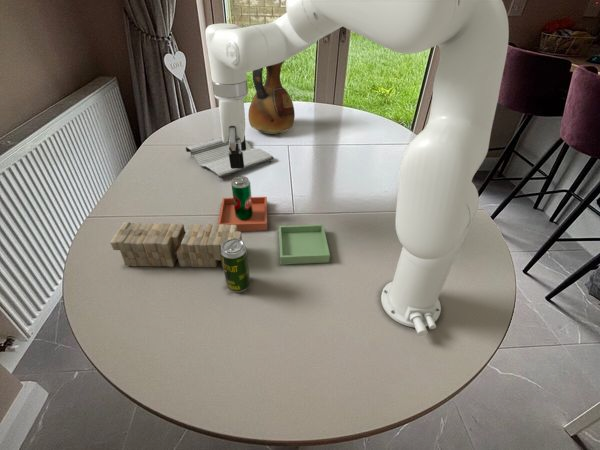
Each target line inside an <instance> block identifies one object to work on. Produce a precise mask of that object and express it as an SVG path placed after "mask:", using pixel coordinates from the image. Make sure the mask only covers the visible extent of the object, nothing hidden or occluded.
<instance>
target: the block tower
mask: <svg viewBox="0 0 600 450" xmlns="http://www.w3.org/2000/svg"><path fill="white" fill-rule="evenodd" d="M242 237H243V236H242V231H237V225H221V224H220V225H218V224H204V223H203V224H200V223H195V224H194V223H189V225H188V227H187V229H186V230H185V226H184V223H164V222H160V223H157V222H154V223H152V222H151V223H150V222H149V223H147V222H146V223H145V222H142V223H141V222H136V223H135V222H134V223H132V222H130V221H124V222H123V223H122V225H121V226H120V227H119V228H118V230H117V232H116V233H115V235H114V236H113V237H112V239H111V241H110V243H109V244H110V246H111V248H112V250H113V251H119V252H120V254H121V257H122V259H123V262H124V265H125V266H131V267H168V268H169V267H170V268H173V267H175V266H176V265H175V264H176V262H177V260H178V264H179V267H183V268H184V267H188V268H189V267H191V268H192V267H193V268H198V267H199V268H217V266H218V262H219V261H221V268H223V262H222V257H221V245H222V244H223V243H224V242H225V241H227V240H229V239H240V240H242V241H243V238H242Z"/></svg>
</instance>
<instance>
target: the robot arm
mask: <svg viewBox="0 0 600 450" xmlns="http://www.w3.org/2000/svg"><path fill="white" fill-rule="evenodd" d="M285 9H286V12H285V13H283V14H282V15H281V16H279V17H278V18H276V19H275V20H273V21H271V22H269V23H261V24H255V25H249V26H244V27H240V26H239V25H237V24H235V23H229V22H228V23H227V22H226V23H225V22H224V23H223V22H222V23H213V24H210V25H207V26H206V28H205V33H204V35H205V42H206V49H207V56H208V63H209V64H208V65H209V70H210V76H211V84H212V89H213V96H214V98H215V99H217V100H218V107H219V109H218V110H219V121H220V130H221V137H222V140H223V142H224V143H226V142H229V159H230V167H231V168H232V169H234V168H244V161H243V152H241V151H245V150H246V142H245V140H246V135H245V133H246V113H245V101H244V99H246V98H247V97H249V90H248V77H247V73H249V72H253V71H254V70H257V69H260V68H263V69H264V68H266V67H267V66H271V65H275V64H278V63H281V62H283V61H284V62H286V61H287V60H289V59H291V58H293V57H294V56H296V55H299V54H300V53H302V52H304V51H306V50H307V49H308V48H310V47H311V46H312V45H315V43H316V42H318V41H319V40H321V39H323V38H324V37H326V36H329V35H330V34H331V33H334V32H335V31H337V30H339V29H341V28H342V27H343V28H345V29H347V30H349V31H350V32H354V33H355V34H357V35H359V36H360V37H362V38H364V39H366V40H368V41H371V42H372V43H375V44H377V45H378V46H381V47H383V48H385V49H387V50H389V51H392V52H395V53H398V54H405V55H406V54H407V55H413V54H419V53H423V52H425V51H427V50H430V49H432V48H434V47H437V46H438V49H439V59H438V64H437V68H436V71H435V75H434V79H433V85H432V98H431V104H430V112H429V115H428V120H427V122H426V123H427V124H426V126H425V127H424V128H423V130H421V131H420V132H419V133H418V134H417V135H416V136H415V137H414V138H412V140H411V141H410V142H409V144H408V145H407V146H406V149H405V150H404V152H403V154H402V158H401V162H400V164H399V165H400V166H399V171H398V172H399V173H398V181H397V183H398V184H397V193H396V194H397V196H396V207H395V232H396V235H397V239H398V241H399V243H400V244H401V246H402V248H401V252H400V255H399V258H398V262H397V265H396V269H395V271H394V272H395V273H394V275H393V280H392V281H390V282H389V283H387V284H386V285H385V286H384V287H383V288H382V290H381V291H382V292H381V296H380V301H381V305H382V307H383V310H384V311H385V312H386V314H387V315H388V316H389V317H390V318H391V319H392V320H394V321H395V322H397V323H398V324H401V325H403V326H406V327H410V328H415V331H416V333H417V335H418V337H424V336H426V335H428V333H429V332H428V329H427V327H428V328H429V330H434V329H437V325H436V322H437V321H438V319H439V317H440V315H441V311H442V306H441V305H442V304H441V302H440V299H439V297H440V295H441V293H442V290H443V288H444V285H445V283H446V281H447V278H448V276H449V274H450V272H451V269H452V267H453V265H454V263H455V261H456V259H457V256H458V253H459V251H460V249H461V246H462V244H463V242H464V240H465V238H466V236H467V234H468V232H469V229H470V228H471V225H472V223H473V221H474V219H475V217H476V215H477V212H478V209H479V202H480V198H479V197H480V196H479V191H478V189H477V187H476V185H475V183H473V178H474V176H475V174H476V173H477V171H478V170H479V169H480V167H481V165H482V164H483V163H484V160H485V159H486V156H487V154H488V151H489V147H490V141H491V140H490V139H491V136H492V135H491V134H492V133H491V132H492V128H493V124H494V120H495V114H496V111H497V106H498V101H499V96H500V89H501V84H502V79H503V76H504V75H503V74H504V69H505V67H506V66H505V65H506V60H507V55H508V54H507V53H508V47H509V37H510V36H509V35H510V34H509V32H510V30H509V18H508V13H507V10H506V7H505V4H504V1H503V0H285Z"/></svg>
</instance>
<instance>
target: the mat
mask: <svg viewBox="0 0 600 450" xmlns="http://www.w3.org/2000/svg"><path fill="white" fill-rule="evenodd" d="M245 142H246V150H245V151H241V152H243V161H244V168H234V169H232V168H231V167H230V159H229V142H226V143H224V142H223V140H222V136H221V137H217V138H213V139H211V140H207V141H202V142H200V143H196V144H193V145H189V146H186V147H185V152H186V153H190V157H191V158H192V157H193V158H194V160H195V161H196V163H197V164H198V165H199V166H200V167H202V168H207V169H208V170H210V171H211V172H212V173H214V174H215V175H217V176H218V178H219V179H220V178H221V179H223V177H227V176H229V175H232V174H235V173H238V172H241V171H243V170H246V169H249V168H252V167H256V166H258V165H261V164H264V163H268V162H271V161H272V160H274V159H275V158H274V156H273V155H271V154H270V153H268V152H267V151H264V150H263V149H261V148H253V147H252V146H251V144H250V143H249V142H248V141H247V140H246V139H245Z"/></svg>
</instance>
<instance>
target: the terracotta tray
mask: <svg viewBox="0 0 600 450" xmlns="http://www.w3.org/2000/svg"><path fill="white" fill-rule="evenodd" d="M251 197H252V209H253V215H252V216H251V217H250V218H249V219H247V220H240V219H238V218H237V217H236V216H235V209H234V201H233V197H222V200H221V205H220V210H219V211H220V212H219V216H218V222H217V225H220V224H221V225H237V232H256V231H257V232H258V231H259V232H260V231H261V232H262V231H263V232H264V231H268V198H267V196H251Z"/></svg>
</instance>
